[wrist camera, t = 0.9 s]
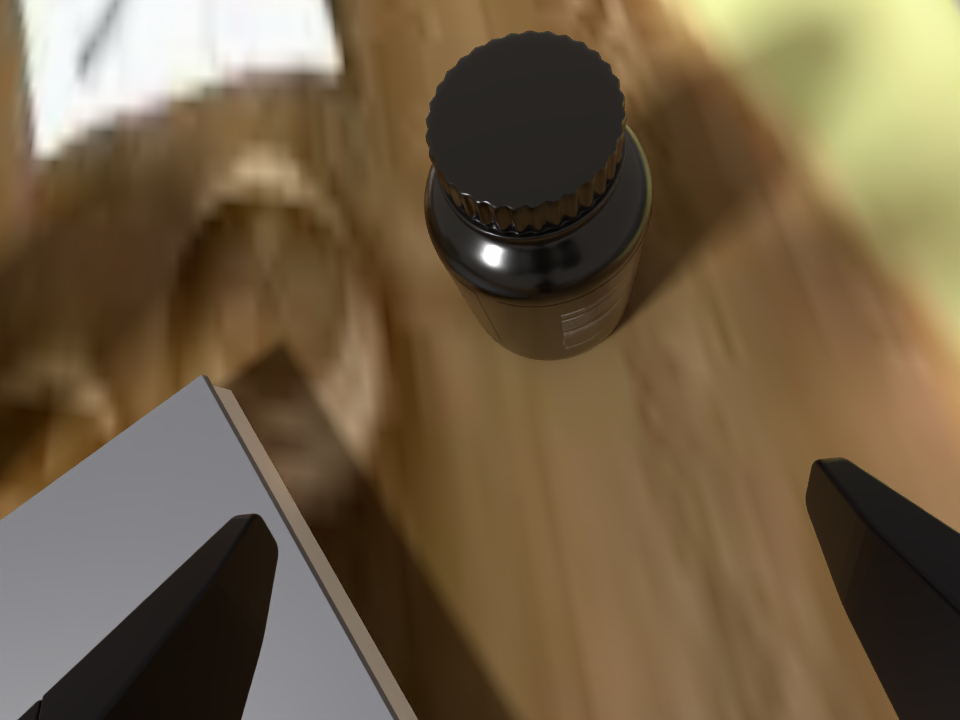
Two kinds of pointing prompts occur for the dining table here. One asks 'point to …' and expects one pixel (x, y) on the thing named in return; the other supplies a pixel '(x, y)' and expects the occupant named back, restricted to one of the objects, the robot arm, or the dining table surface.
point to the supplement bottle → (537, 192)
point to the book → (179, 564)
